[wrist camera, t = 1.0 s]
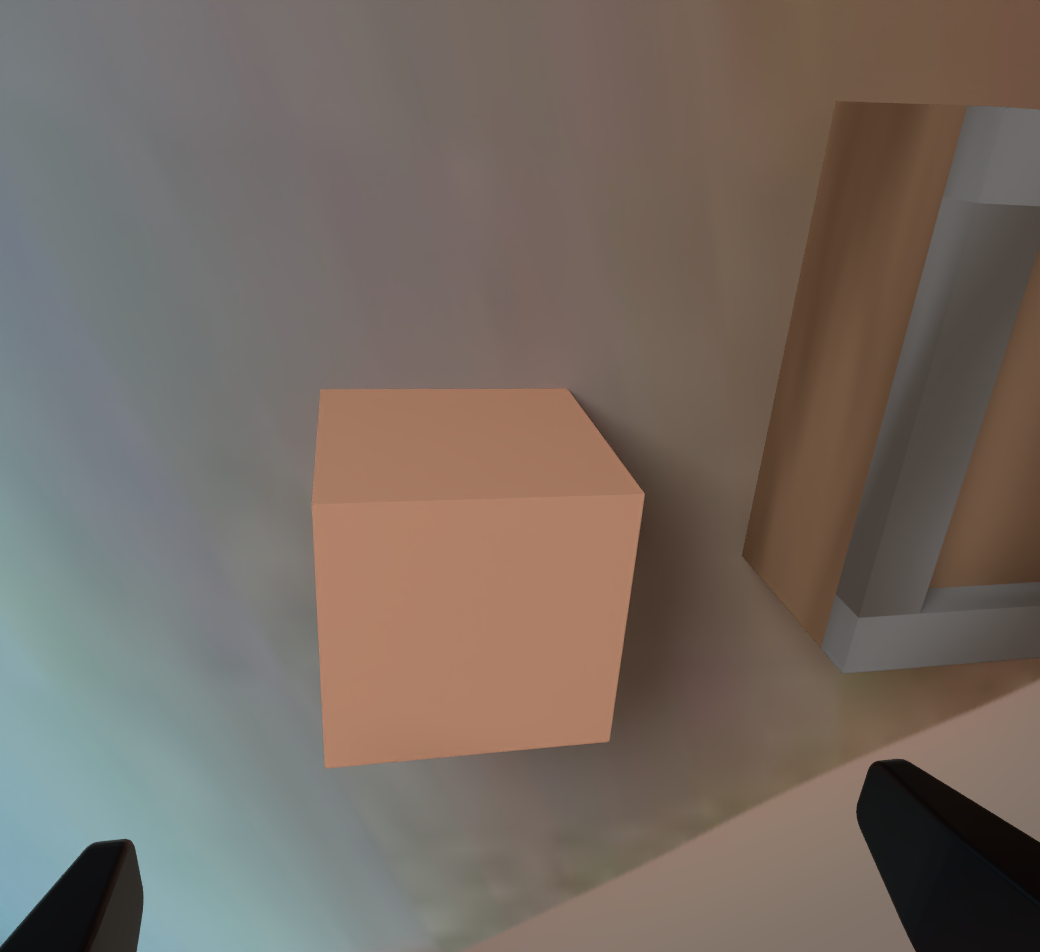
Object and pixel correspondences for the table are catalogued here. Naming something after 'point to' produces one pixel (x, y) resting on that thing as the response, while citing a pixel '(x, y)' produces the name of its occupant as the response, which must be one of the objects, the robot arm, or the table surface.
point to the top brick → (467, 572)
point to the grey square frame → (912, 395)
